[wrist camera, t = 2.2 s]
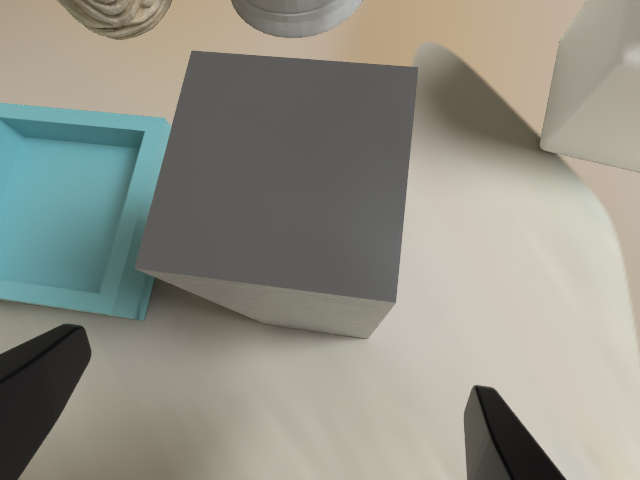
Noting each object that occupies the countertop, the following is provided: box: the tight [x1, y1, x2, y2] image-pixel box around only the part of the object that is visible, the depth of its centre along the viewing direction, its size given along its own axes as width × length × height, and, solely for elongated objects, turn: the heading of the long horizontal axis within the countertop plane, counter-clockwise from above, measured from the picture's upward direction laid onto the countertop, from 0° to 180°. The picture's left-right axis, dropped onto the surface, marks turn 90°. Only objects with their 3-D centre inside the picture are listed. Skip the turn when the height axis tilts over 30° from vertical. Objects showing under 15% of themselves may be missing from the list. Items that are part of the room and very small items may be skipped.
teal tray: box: [0, 103, 171, 321], centre depth 21 cm, size 10×10×3 cm
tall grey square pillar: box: [134, 51, 418, 339], centre depth 15 cm, size 5×5×13 cm
